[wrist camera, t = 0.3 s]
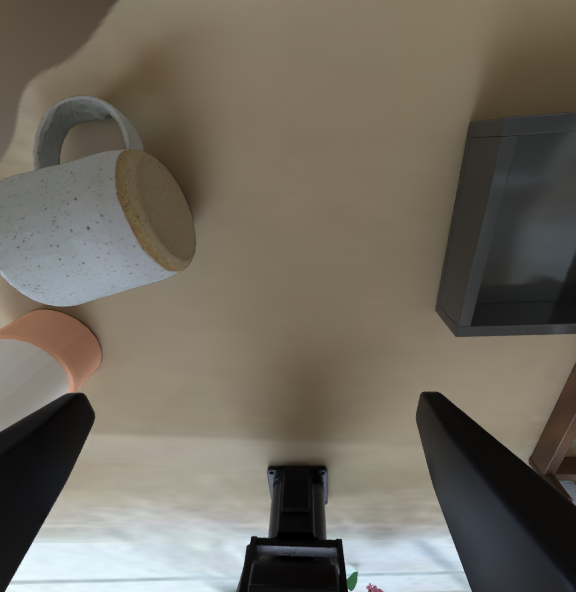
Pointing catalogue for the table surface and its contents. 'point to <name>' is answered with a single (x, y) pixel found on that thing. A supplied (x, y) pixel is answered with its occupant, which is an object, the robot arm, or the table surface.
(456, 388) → the table surface
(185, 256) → the ceramic mug
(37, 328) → the pepper shaker
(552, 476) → the cup rack
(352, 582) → the flower vase
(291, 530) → the robot arm
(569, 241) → the open square storage box
